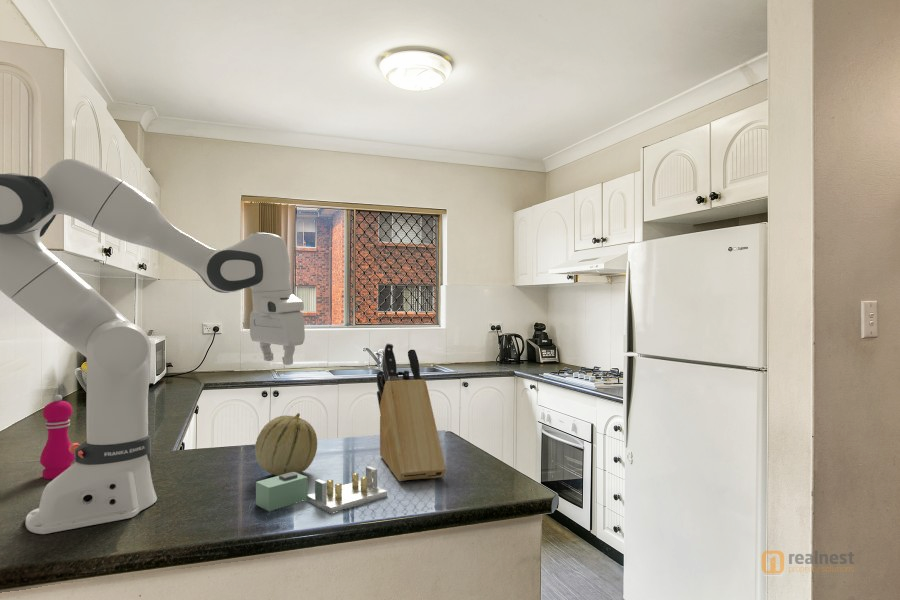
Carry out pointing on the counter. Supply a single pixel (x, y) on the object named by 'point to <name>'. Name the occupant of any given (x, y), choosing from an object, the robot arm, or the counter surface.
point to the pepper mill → (57, 438)
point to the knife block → (407, 422)
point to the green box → (281, 490)
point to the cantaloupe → (286, 445)
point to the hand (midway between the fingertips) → (278, 362)
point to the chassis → (346, 492)
